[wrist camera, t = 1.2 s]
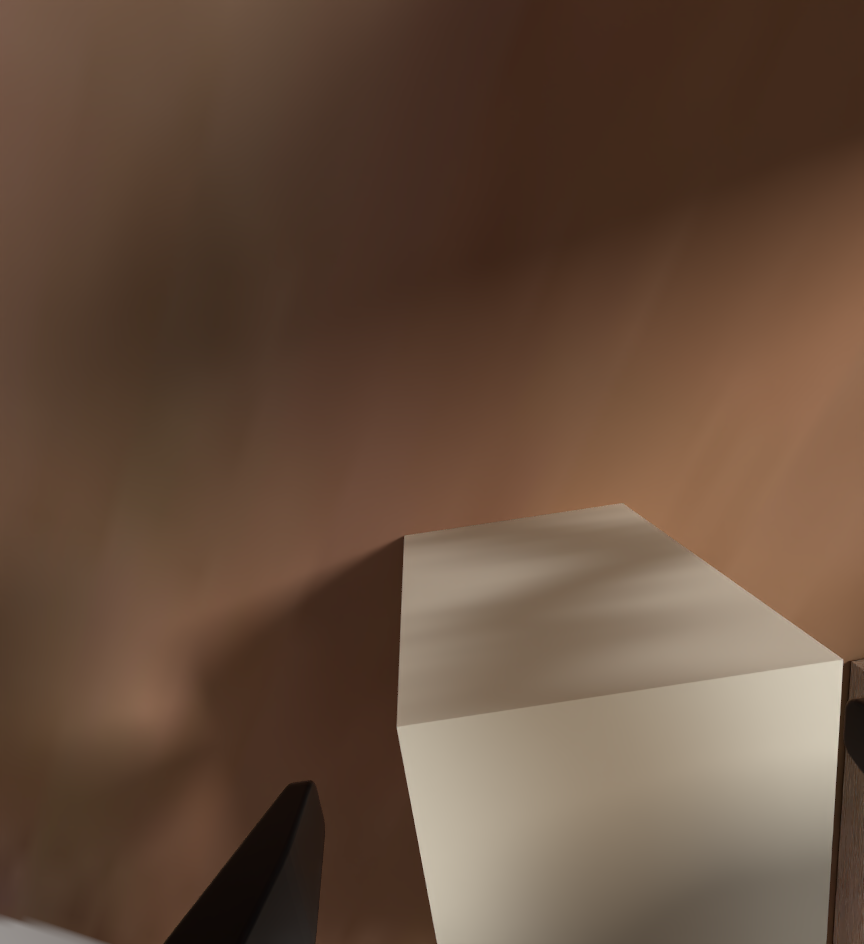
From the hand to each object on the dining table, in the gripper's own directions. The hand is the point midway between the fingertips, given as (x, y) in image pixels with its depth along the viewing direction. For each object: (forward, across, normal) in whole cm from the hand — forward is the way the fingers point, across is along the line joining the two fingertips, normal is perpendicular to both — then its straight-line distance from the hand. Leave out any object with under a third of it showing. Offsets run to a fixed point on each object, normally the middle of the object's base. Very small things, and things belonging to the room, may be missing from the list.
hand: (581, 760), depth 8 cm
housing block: (+4, 0, 0) cm, 4 cm away
